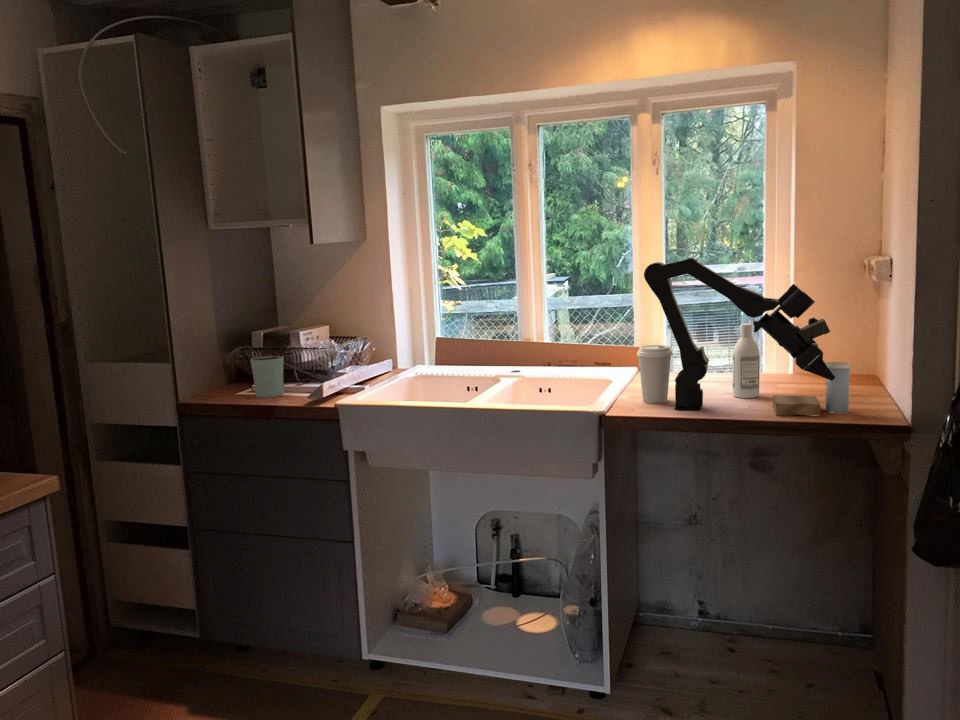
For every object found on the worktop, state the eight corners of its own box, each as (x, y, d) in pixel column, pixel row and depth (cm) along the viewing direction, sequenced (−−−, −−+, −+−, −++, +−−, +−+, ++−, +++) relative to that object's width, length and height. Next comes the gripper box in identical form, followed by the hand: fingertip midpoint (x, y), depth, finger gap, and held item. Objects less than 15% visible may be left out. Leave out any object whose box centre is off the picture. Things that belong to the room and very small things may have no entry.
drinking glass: (249, 398, 241) (245, 360, 239) (259, 392, 251) (256, 356, 249) (281, 397, 241) (278, 359, 239) (290, 391, 251) (287, 354, 249)
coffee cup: (666, 405, 205) (666, 350, 203) (632, 403, 210) (631, 348, 208) (677, 398, 213) (677, 345, 211) (644, 396, 218) (643, 344, 216)
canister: (826, 414, 188) (827, 365, 186) (823, 409, 193) (824, 361, 191) (850, 414, 187) (852, 365, 185) (847, 409, 192) (848, 362, 190)
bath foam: (764, 396, 211) (765, 323, 208) (746, 399, 208) (747, 326, 205) (744, 392, 217) (745, 322, 214) (727, 396, 214) (727, 324, 211)
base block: (775, 415, 189) (776, 403, 188) (772, 406, 198) (772, 395, 198) (820, 416, 186) (820, 404, 186) (814, 407, 195) (815, 395, 195)
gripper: (812, 312, 179) (863, 358, 178) (805, 304, 197) (852, 347, 195) (775, 345, 183) (825, 392, 181) (772, 335, 201) (818, 377, 199)
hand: (831, 375), depth 189 cm, fingers open, 9 cm apart
